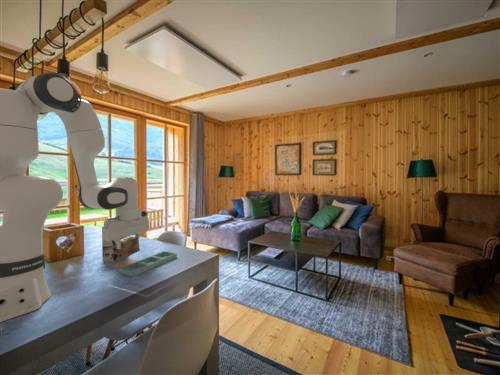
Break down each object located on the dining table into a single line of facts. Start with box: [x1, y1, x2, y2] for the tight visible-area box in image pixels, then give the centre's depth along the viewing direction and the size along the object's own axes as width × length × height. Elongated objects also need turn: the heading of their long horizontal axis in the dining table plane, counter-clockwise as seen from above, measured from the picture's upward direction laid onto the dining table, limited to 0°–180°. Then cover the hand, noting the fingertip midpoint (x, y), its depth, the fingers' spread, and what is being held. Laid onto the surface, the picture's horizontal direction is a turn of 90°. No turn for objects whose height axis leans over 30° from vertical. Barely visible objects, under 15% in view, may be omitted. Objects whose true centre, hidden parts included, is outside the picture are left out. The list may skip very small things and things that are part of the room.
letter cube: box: [117, 235, 141, 257], centre depth 103 cm, size 6×6×6 cm
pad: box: [111, 258, 139, 269], centre depth 103 cm, size 9×9×1 cm
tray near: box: [118, 262, 151, 278], centre depth 96 cm, size 8×8×2 cm
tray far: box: [151, 250, 178, 264], centre depth 110 cm, size 8×8×2 cm
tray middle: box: [137, 255, 165, 270], centre depth 103 cm, size 8×8×2 cm
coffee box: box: [101, 226, 127, 263], centre depth 110 cm, size 9×6×16 cm
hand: (128, 245), depth 103 cm, fingers closed on letter cube, 6 cm apart
